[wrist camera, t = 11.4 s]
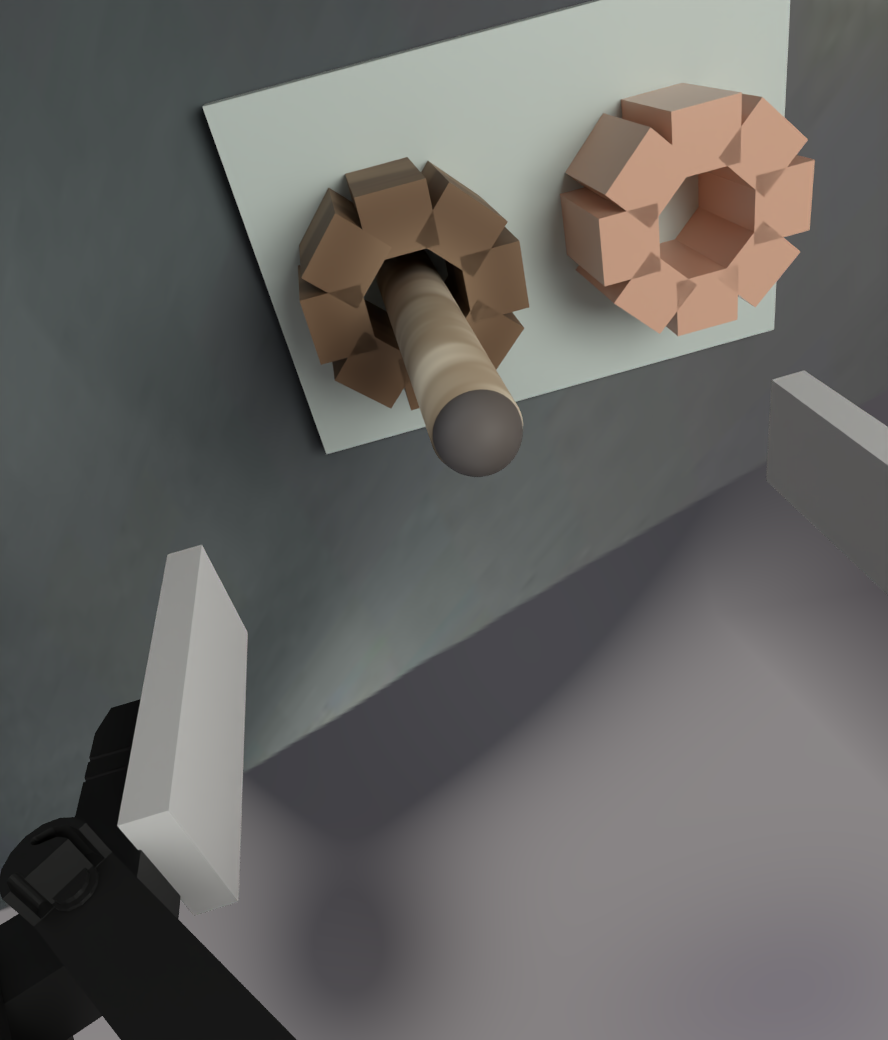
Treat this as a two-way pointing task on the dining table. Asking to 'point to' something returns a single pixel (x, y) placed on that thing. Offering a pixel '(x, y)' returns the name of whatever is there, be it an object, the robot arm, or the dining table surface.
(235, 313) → the dining table surface
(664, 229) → the board
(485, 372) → the wooden dowel rod
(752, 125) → the terracotta bead
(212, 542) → the dining table surface
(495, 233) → the walnut bead
